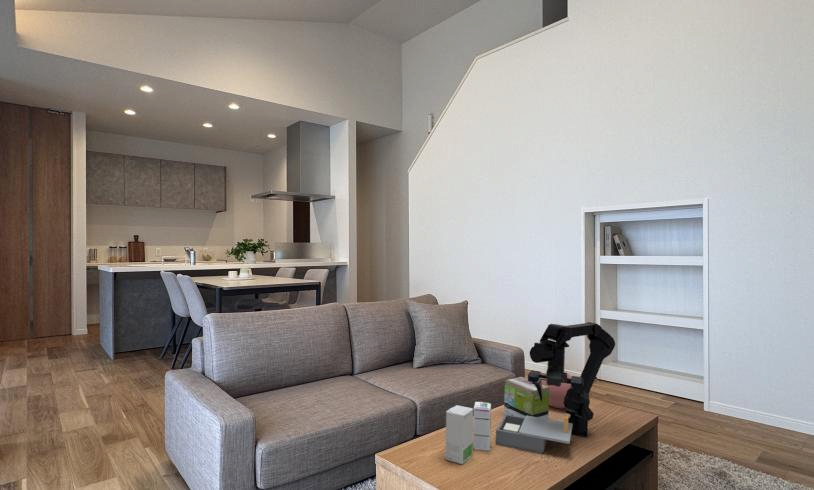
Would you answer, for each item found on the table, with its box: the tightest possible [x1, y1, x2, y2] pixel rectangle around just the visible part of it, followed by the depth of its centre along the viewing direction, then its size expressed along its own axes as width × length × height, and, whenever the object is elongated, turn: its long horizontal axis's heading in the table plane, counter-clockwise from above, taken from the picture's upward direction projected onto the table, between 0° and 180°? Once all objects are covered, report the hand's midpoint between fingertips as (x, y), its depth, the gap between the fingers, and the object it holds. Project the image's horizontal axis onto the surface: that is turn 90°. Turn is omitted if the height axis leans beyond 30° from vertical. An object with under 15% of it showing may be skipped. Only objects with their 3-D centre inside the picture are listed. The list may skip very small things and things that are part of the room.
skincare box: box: [444, 404, 474, 465], centre depth 148 cm, size 8×7×16 cm
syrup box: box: [472, 401, 492, 452], centre depth 156 cm, size 6×6×14 cm
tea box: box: [503, 376, 550, 419], centre depth 182 cm, size 15×10×15 cm, turn 33°
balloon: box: [542, 373, 573, 410], centre depth 194 cm, size 15×20×15 cm
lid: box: [519, 414, 573, 445], centre depth 159 cm, size 16×16×6 cm
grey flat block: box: [495, 414, 548, 455], centre depth 163 cm, size 16×16×5 cm
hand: (554, 402), depth 164 cm, fingers open, 9 cm apart
